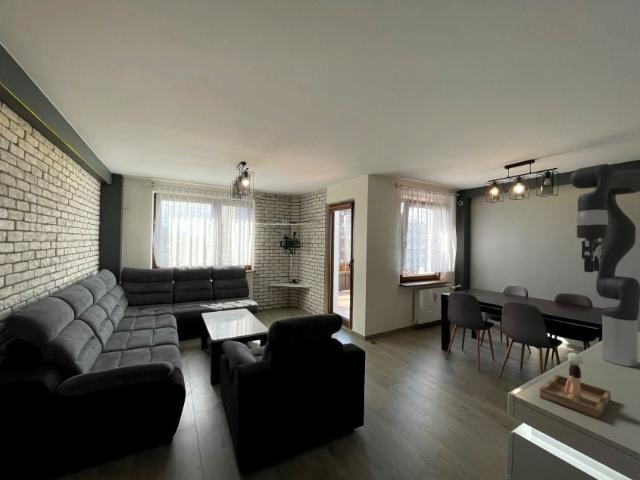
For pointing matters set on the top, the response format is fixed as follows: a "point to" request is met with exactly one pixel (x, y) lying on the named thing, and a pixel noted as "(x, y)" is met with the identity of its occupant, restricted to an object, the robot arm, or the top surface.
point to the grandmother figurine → (574, 377)
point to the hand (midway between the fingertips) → (591, 271)
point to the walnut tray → (588, 405)
